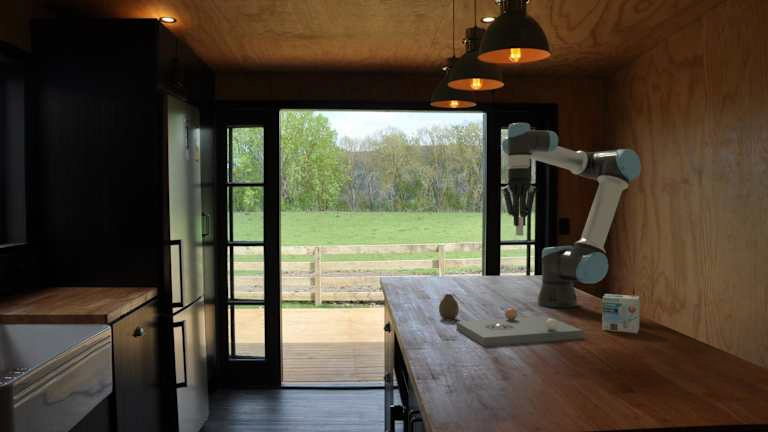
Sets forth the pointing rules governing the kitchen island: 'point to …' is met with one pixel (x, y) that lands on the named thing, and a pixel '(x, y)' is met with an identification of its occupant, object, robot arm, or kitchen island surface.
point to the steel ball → (499, 326)
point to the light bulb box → (620, 313)
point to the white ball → (551, 324)
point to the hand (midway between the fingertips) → (519, 235)
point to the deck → (517, 331)
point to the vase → (448, 307)
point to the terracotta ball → (511, 313)
